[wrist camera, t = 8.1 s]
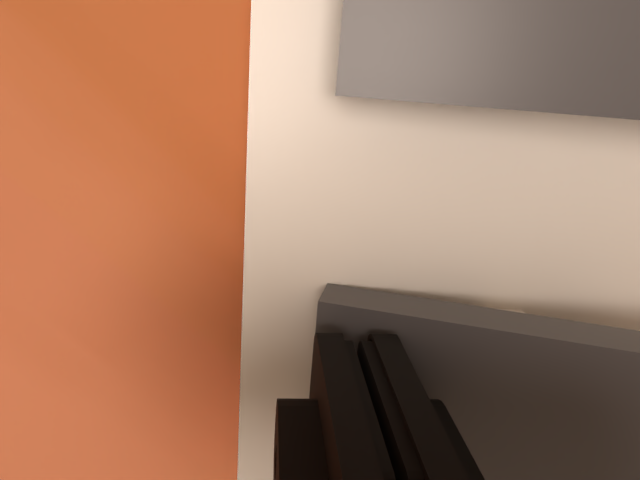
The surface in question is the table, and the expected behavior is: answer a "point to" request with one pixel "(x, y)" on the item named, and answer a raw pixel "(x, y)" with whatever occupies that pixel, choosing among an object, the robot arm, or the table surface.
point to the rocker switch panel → (413, 209)
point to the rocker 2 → (512, 381)
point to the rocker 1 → (495, 54)
